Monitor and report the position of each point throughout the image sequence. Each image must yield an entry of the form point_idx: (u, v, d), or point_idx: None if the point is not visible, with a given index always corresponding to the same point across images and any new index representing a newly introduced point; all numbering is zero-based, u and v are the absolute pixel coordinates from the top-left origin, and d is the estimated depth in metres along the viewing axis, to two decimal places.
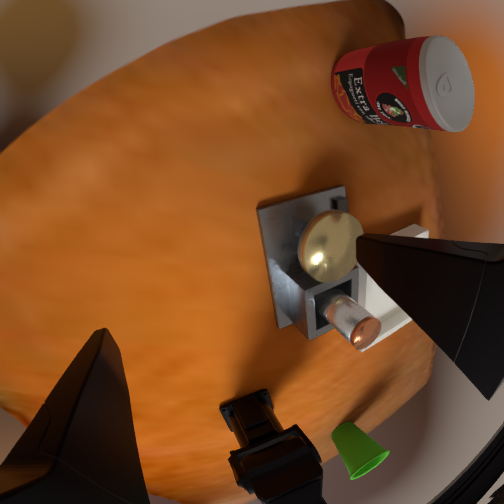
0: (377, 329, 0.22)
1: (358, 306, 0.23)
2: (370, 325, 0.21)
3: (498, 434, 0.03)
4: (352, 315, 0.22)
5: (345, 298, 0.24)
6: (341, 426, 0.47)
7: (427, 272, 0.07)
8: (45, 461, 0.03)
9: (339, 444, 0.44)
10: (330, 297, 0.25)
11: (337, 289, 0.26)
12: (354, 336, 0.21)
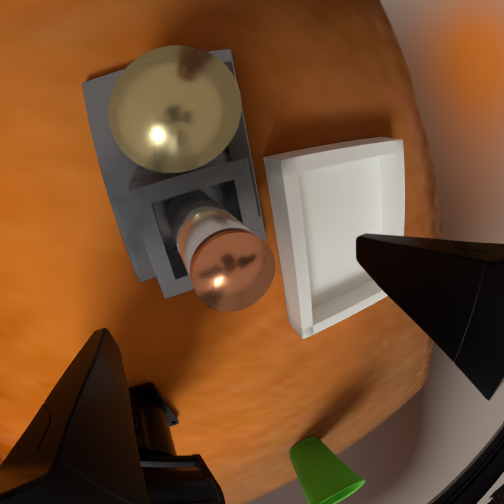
0: (263, 265, 0.10)
1: (225, 216, 0.11)
2: (233, 247, 0.10)
3: (498, 434, 0.03)
4: (200, 229, 0.11)
5: (210, 207, 0.13)
6: (301, 443, 0.35)
7: (427, 272, 0.07)
8: (45, 461, 0.03)
9: (297, 466, 0.32)
10: (185, 210, 0.13)
11: (208, 200, 0.14)
12: (191, 271, 0.10)
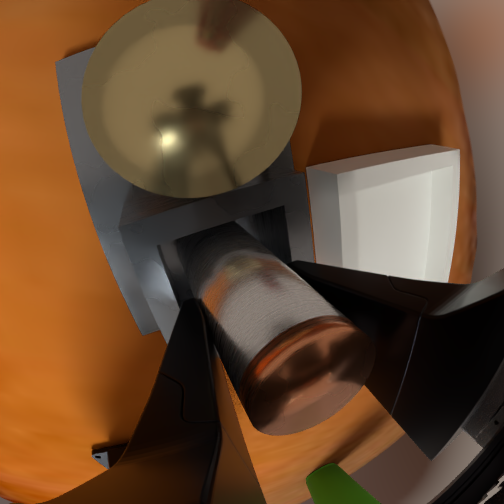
0: (359, 368, 0.06)
1: (288, 279, 0.07)
2: (324, 357, 0.05)
3: (498, 434, 0.03)
4: (253, 310, 0.06)
5: (254, 255, 0.08)
6: (319, 470, 0.30)
7: (353, 315, 0.07)
8: (202, 429, 0.03)
9: (315, 494, 0.28)
10: (212, 256, 0.09)
11: (243, 236, 0.10)
12: (247, 399, 0.05)
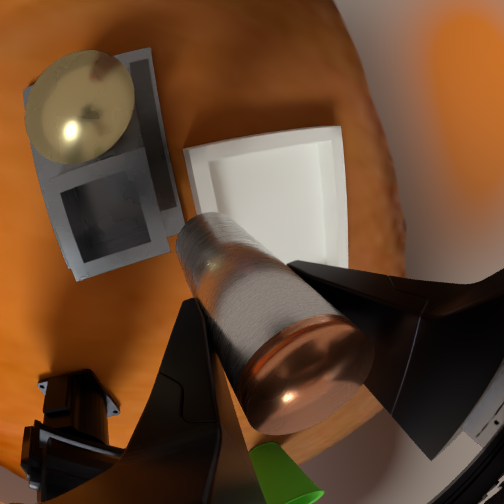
0: (358, 367, 0.06)
1: (286, 278, 0.07)
2: (322, 356, 0.05)
3: (498, 434, 0.03)
4: (251, 309, 0.06)
5: (252, 254, 0.08)
6: (259, 447, 0.34)
7: (353, 315, 0.07)
8: (202, 429, 0.03)
9: None
10: (210, 255, 0.09)
11: (242, 235, 0.10)
12: (245, 399, 0.05)
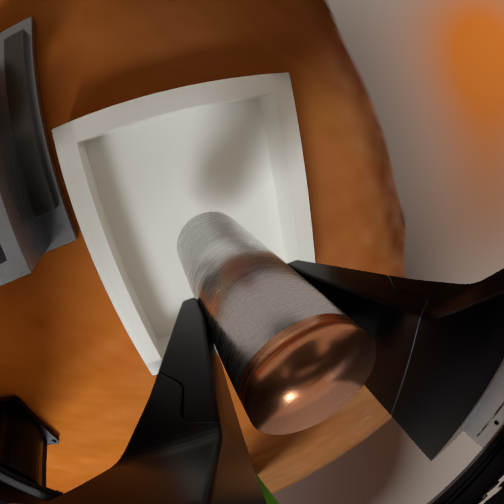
0: (360, 367, 0.06)
1: (288, 277, 0.07)
2: (324, 355, 0.05)
3: (498, 434, 0.03)
4: (253, 309, 0.06)
5: (254, 253, 0.08)
6: None
7: (353, 315, 0.07)
8: (202, 429, 0.03)
9: None
10: (211, 254, 0.09)
11: (243, 235, 0.10)
12: (247, 398, 0.05)
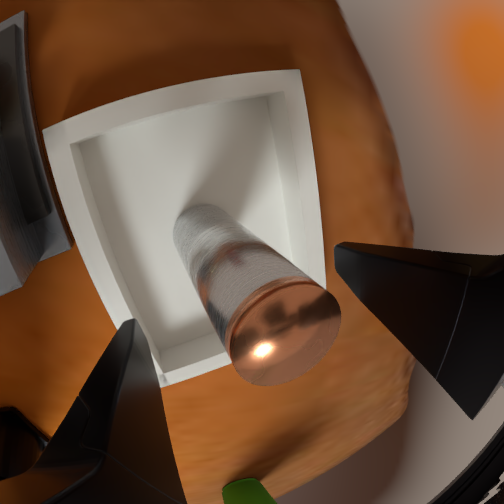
0: (327, 324, 0.07)
1: (266, 252, 0.08)
2: (293, 308, 0.06)
3: (498, 434, 0.03)
4: (236, 274, 0.07)
5: (239, 234, 0.09)
6: (233, 484, 0.27)
7: (406, 285, 0.07)
8: (90, 456, 0.03)
9: None
10: (203, 236, 0.10)
11: (231, 221, 0.11)
12: (231, 344, 0.06)
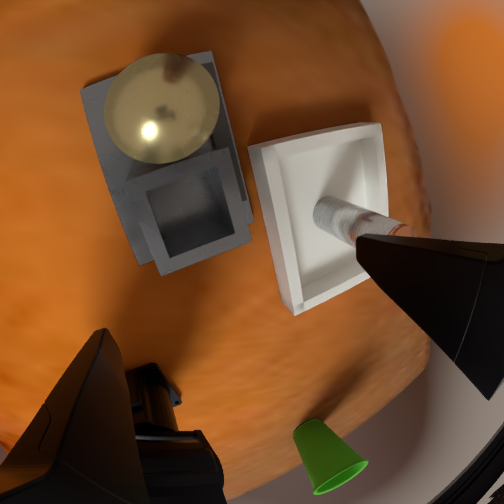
0: None
1: None
2: (405, 234, 0.16)
3: (498, 434, 0.03)
4: (381, 224, 0.17)
5: (368, 210, 0.19)
6: (304, 425, 0.37)
7: (427, 272, 0.07)
8: (45, 461, 0.03)
9: (301, 448, 0.35)
10: (349, 212, 0.20)
11: (356, 205, 0.21)
12: None
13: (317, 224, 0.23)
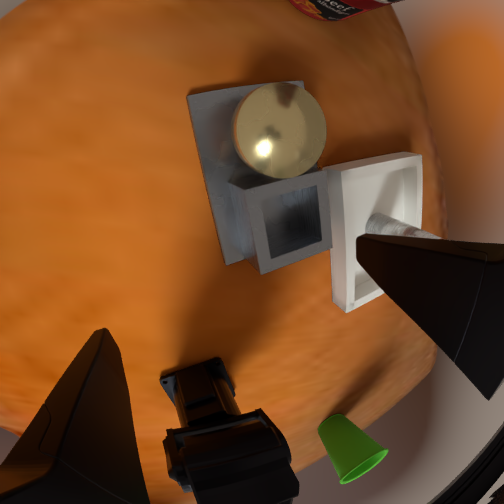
0: None
1: (428, 232, 0.21)
2: None
3: (498, 434, 0.03)
4: None
5: None
6: (329, 419, 0.40)
7: (427, 272, 0.07)
8: (45, 461, 0.03)
9: (327, 441, 0.37)
10: (399, 227, 0.23)
11: None
12: None
13: None
